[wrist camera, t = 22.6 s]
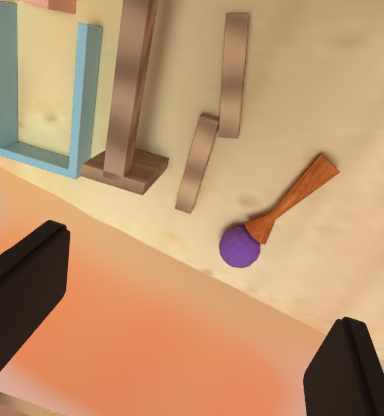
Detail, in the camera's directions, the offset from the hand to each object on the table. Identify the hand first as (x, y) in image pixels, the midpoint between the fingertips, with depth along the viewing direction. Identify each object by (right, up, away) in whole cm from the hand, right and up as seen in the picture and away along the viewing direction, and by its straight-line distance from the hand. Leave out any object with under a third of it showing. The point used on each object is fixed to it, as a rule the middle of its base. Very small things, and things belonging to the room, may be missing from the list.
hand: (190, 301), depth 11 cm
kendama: (+12, +3, +37) cm, 39 cm away
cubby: (-20, +20, +36) cm, 46 cm away
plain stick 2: (+5, +20, +31) cm, 37 cm away
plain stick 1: (+1, +10, +37) cm, 38 cm away
